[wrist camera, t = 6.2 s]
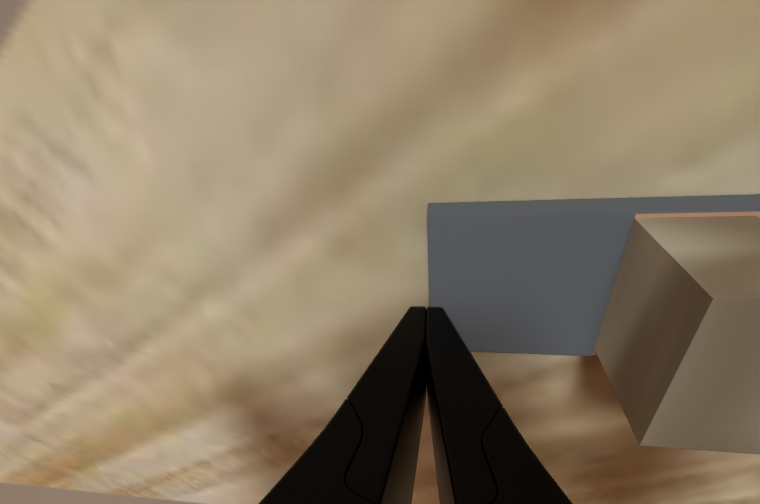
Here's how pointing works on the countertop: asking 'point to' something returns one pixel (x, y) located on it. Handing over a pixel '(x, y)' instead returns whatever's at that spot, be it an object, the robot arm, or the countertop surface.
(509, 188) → the countertop surface
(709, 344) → the t block
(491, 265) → the mat
